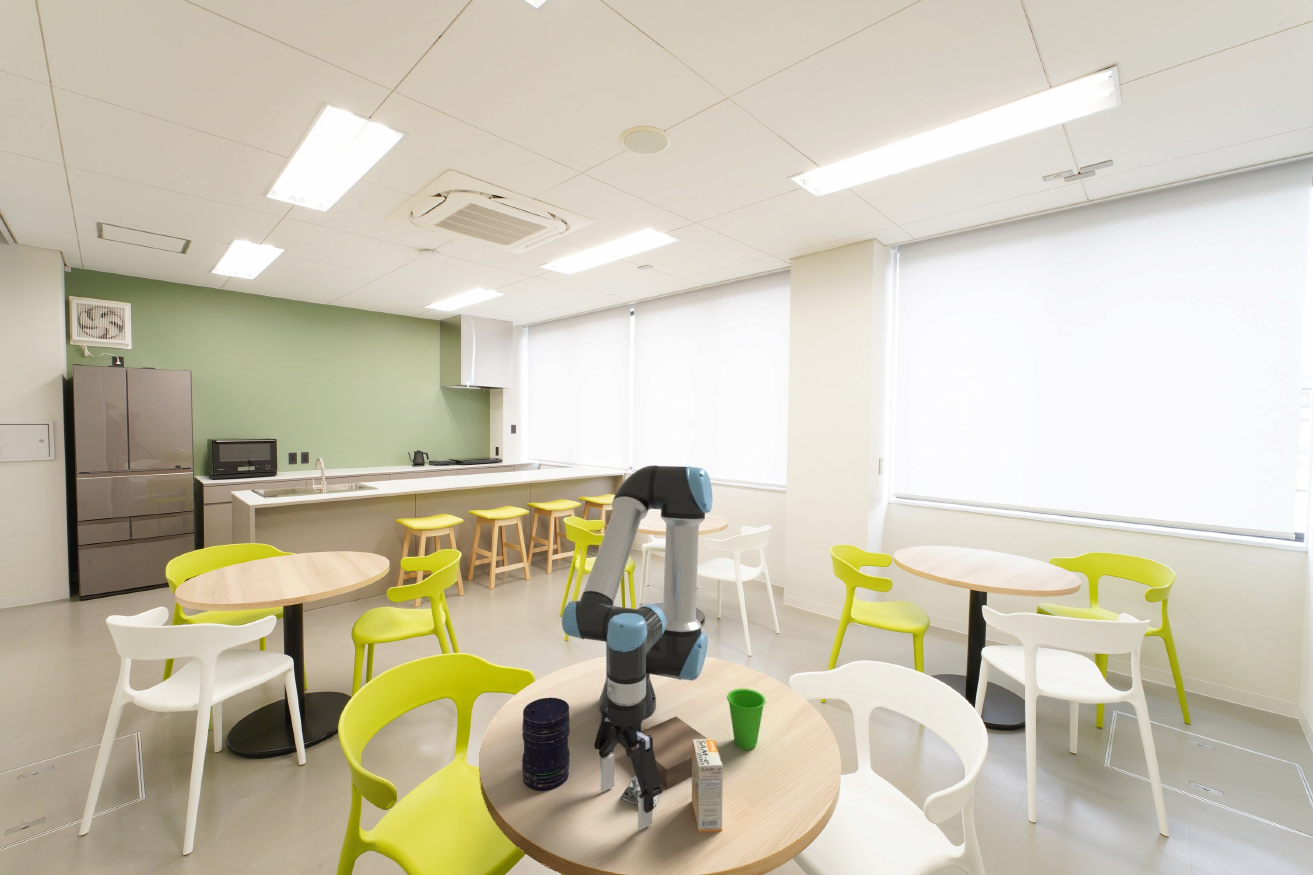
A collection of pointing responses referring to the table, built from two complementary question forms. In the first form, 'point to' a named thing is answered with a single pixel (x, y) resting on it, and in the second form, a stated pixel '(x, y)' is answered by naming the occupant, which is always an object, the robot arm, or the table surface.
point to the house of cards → (634, 792)
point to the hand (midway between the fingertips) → (625, 805)
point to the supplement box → (707, 785)
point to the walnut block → (672, 750)
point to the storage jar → (545, 744)
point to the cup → (746, 716)
